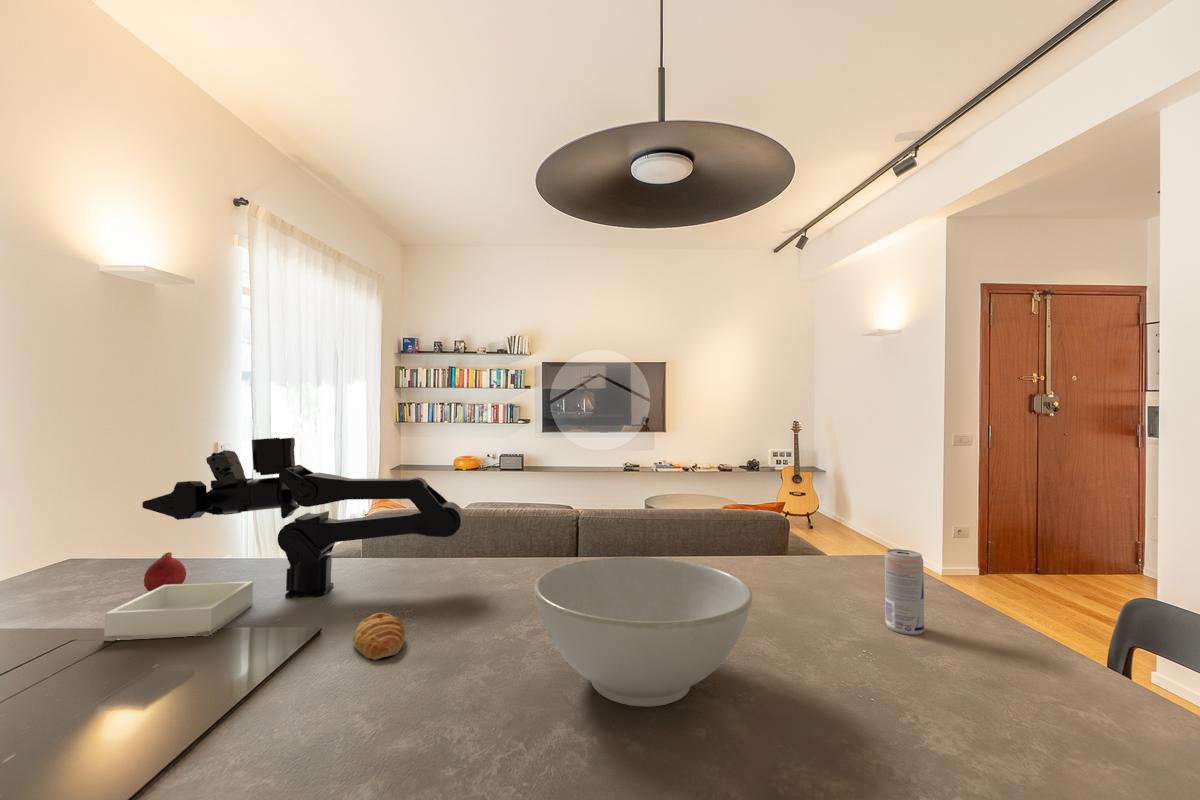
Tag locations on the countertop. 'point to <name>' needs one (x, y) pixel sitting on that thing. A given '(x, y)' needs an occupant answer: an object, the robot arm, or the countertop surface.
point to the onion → (164, 572)
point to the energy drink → (904, 591)
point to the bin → (180, 610)
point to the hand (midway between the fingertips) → (160, 503)
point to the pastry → (379, 636)
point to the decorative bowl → (642, 623)
